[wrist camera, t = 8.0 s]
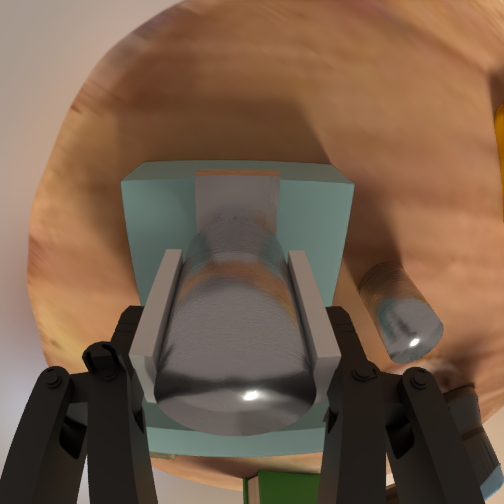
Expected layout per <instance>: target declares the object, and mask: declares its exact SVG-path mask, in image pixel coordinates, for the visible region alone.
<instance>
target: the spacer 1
mask: <svg viewBox="0 0 504 504" xmlns="http://www.w3.org/2000/svg"><path fill="white" fill-rule="evenodd" d="M316 395H317V389H316V384H315V380H314V376H313V371H312V367H311V362H310V358H309V354H308V350H307V345H306V341H305V337H304V333H303V328H302V324H301V320H300V316H299V312H298V308H297V304H296V300H295V296H294V292H293V288H292V284H291V280H290V276H289V272H288V268H287V264H286V260H285V256H284V253H283V249H282V247H281V245H280V243H279V241H278V240H277V238H276V237H275V236H274V235H273V234H272V233H271V232H270V231H269V230H268V229H266V228H265V227H263V226H261V225H259V224H257V223H255V222H251V221H248V220H243V219H228V220H222V221H218V222H215V223H213V224H211V225H209V226H207V227H205V228H204V229H202V230H201V231H200V232H199V233H198V234H197V235H196V236H195V237H194V238H193V240H192V241H191V243H190V245H189V247H188V250H187V253H186V257H185V260H184V264H183V268H182V271H181V275H180V279H179V283H178V286H177V290H176V294H175V298H174V302H173V306H172V310H171V314H170V318H169V322H168V326H167V330H166V335H165V339H164V343H163V348H162V352H161V356H160V361H159V365H158V370H157V375H156V380H155V384H154V397H155V400H156V402H157V404H158V406H159V407H160V408H161V410H162V411H163V412H164V413H165V414H166V415H167V416H169V417H170V418H171V419H173V420H174V421H176V422H178V423H179V424H181V425H183V426H185V427H188V428H190V429H193V430H196V431H199V432H203V433H207V434H213V435H219V436H235V437H236V436H252V435H259V434H264V433H269V432H272V431H275V430H279V429H281V428H284V427H286V426H288V425H290V424H292V423H294V422H295V421H297V420H299V419H300V418H301V417H303V416H304V415H305V414H306V413H307V412H308V411H309V410H310V408H311V407H312V406H313V404H314V402H315V399H316Z"/></svg>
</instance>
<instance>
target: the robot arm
mask: <svg viewBox="0 0 504 504" xmlns="http://www.w3.org/2000/svg"><path fill="white" fill-rule="evenodd" d="M182 268H183V253H182V249H166V252H165V254H164V257H163V259H162V262H161V264H160V267H159V270H158V272H157V275H156V278H155V280H154V283H153V286H152V288H151V291H150V294H149V296H148V299H147V302H146V305H145V306H129V307H128V308H127V309H126V310H125V311H124V312H123V313H122V314H121V317H120V319H119V321H118V324H117V326H116V329H115V332H114V334H113V336H112V339H111V341H110V342H106V341H101V342H97V343H94V344H92V345H90V346H89V347H88V348H87V349H86V350H85V351H84V353H83V355H82V359H83V361H84V363H85V365H86V367H87V369H88V372H84V373H77V374H70V375H69V373H68V372H67V371H66V369H65V368H63V367H60V366H52V367H49V368H47V369H45V370H44V371H43V372H42V373H41V374H40V376H39V377H38V379H37V381H36V384H35V386H34V388H33V390H32V393H31V395H30V397H29V400H28V402H27V404H26V407H25V409H24V412H23V414H22V417H21V419H20V422H19V425H18V427H17V430H16V433H15V435H14V438H13V441H12V444H11V447H10V450H9V453H8V456H7V459H6V462H5V465H4V469H3V472H2V475H1V479H0V504H77V497H78V493H79V488H80V482H81V477H82V473H83V469H84V464H85V459H86V455H87V464H88V484H89V497H90V504H158V500H157V495H156V490H155V485H154V478H153V472H152V466H151V460H150V453H149V446H148V438H147V430H146V421H145V412H144V409H143V406H142V401H143V397H144V396H145V398H146V401H147V402H151V403H157V402H156V400H155V397H154V384H155V380H156V375H157V370H158V365H159V361H160V356H161V352H162V348H163V343H164V339H165V335H166V330H167V326H168V322H169V318H170V314H171V310H172V306H173V302H174V298H175V294H176V290H177V286H178V283H179V279H180V275H181V271H182ZM287 268H288V272H289V276H290V280H291V284H292V288H293V292H294V296H295V300H296V304H297V308H298V312H299V316H300V320H301V324H302V328H303V333H304V337H305V341H306V345H307V350H308V354H309V358H310V362H311V367H312V371H313V376H314V380H315V384H316V389H317V395H316V399H315V402H314V404H315V403H324V401H325V398H326V396H327V397H328V401H329V407H328V409H327V411H326V414H325V416H324V418H323V421H322V422H325V421H326V427H325V438H324V448H323V457H322V466H321V474H320V482H319V489H318V496H317V503H316V504H485V501H486V500H487V499H488V498H489V497H491V496H492V495H493V494H495V493H496V492H497V491H498V490H499V489H500V488H501V487H502V485H503V483H504V477H503V473H502V470H501V467H500V465H501V464H500V463H499V461H498V459H497V457H496V454H495V452H494V450H493V447H492V445H491V443H490V441H489V439H488V436H487V434H486V432H485V431H484V428H483V426H482V423H481V416H480V409H479V405H478V396H477V394H476V392H475V390H474V388H473V387H471V386H465V387H461V388H458V389H455V390H453V391H451V392H449V393H447V394H445V395H442V393H441V391H440V389H439V387H438V385H437V383H436V381H435V379H434V377H433V376H432V374H431V373H430V372H428V371H427V370H426V369H423V368H420V367H411V368H409V369H407V370H406V371H405V372H404V373H403V375H397V374H390V373H385V372H381V371H380V370H379V368H378V367H377V366H376V365H375V364H374V363H372V362H370V361H368V360H367V358H366V355H365V353H364V350H363V348H362V345H361V343H360V340H359V338H358V335H357V333H356V332H355V331H356V330H355V328H354V326H353V325H352V321H351V319H350V316H349V314H348V313H347V312H346V311H345V310H344V309H343V308H342V307H341V306H334V307H325V306H324V303H323V300H322V298H321V295H320V292H319V289H318V286H317V284H316V281H315V278H314V276H313V273H312V270H311V267H310V265H309V262H308V259H307V257H306V254H305V251H304V250H288V259H287ZM386 453H387V456H388V460H389V463H390V467H391V470H392V474H393V478H394V482H395V483H394V484H391V485H388V486H386Z"/></svg>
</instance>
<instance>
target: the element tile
mask: <svg viewBox="0 0 504 504" xmlns="http://www.w3.org/2000/svg"><path fill="white" fill-rule="evenodd" d="M494 126H495V133H496V139H497V145H498V152H499V160H500V169H501V180H502V193H503V222H504V103H503V104H502V105H500V106H499V108H498V109H497V110H496V114H495V121H494Z"/></svg>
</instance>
